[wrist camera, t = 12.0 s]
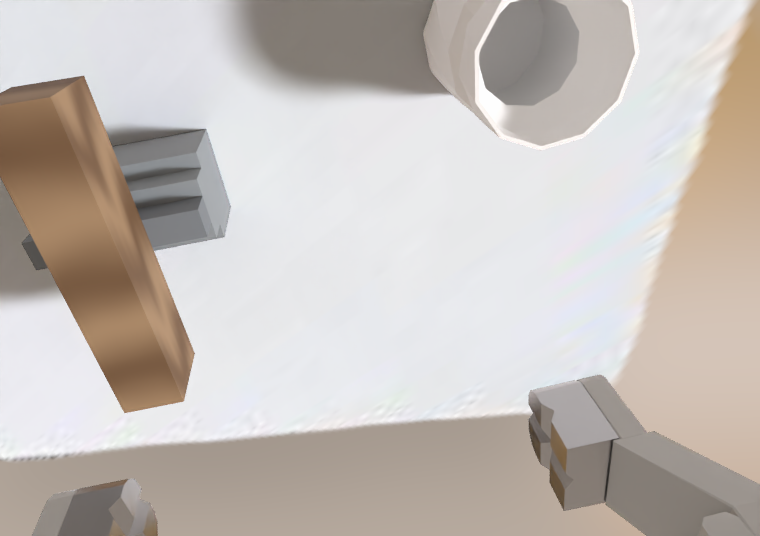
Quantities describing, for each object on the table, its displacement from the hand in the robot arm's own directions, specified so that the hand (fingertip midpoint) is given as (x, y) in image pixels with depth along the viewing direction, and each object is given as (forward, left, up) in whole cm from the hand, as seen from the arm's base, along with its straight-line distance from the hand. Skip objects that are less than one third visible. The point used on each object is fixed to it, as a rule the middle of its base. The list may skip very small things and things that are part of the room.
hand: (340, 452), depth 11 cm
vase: (-2, +13, -31) cm, 34 cm away
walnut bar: (+4, -12, -22) cm, 25 cm away
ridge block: (+4, -12, -31) cm, 34 cm away
